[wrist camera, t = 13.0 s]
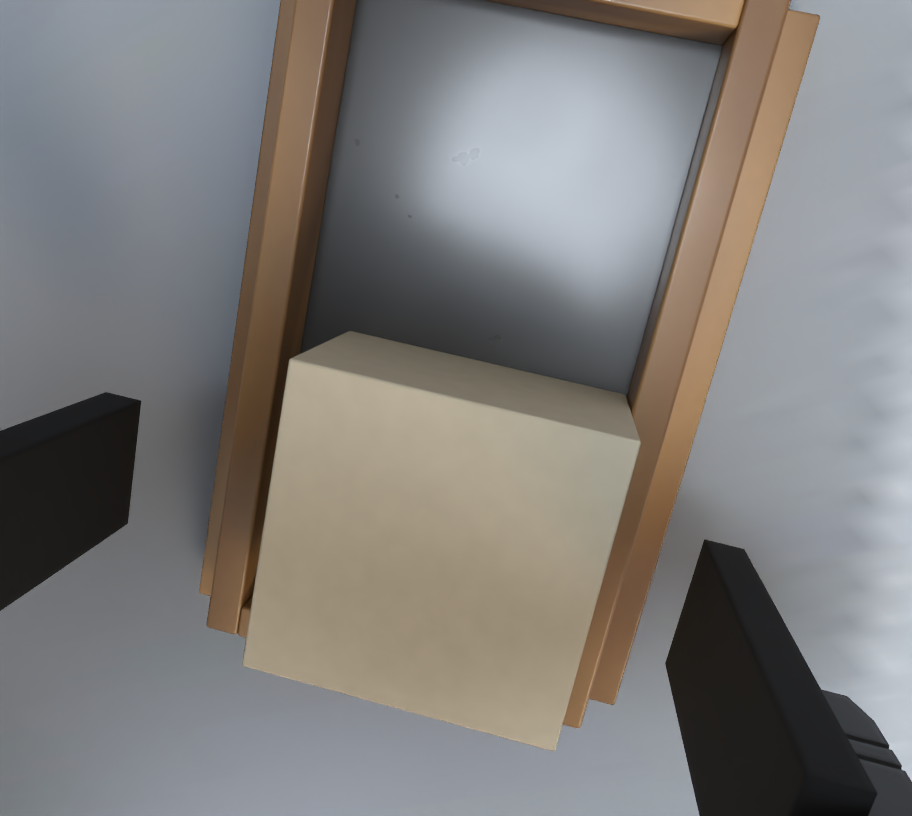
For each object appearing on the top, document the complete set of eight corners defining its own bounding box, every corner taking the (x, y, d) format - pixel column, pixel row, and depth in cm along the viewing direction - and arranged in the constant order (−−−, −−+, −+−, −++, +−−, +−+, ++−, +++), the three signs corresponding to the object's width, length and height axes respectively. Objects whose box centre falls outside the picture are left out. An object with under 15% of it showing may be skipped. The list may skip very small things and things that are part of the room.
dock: (214, 577, 21) (169, 621, 19) (306, -67, 17) (263, -115, 15) (612, 683, 20) (618, 745, 18) (807, 27, 16) (847, -7, 14)
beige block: (305, 580, 20) (241, 666, 16) (348, 329, 18) (288, 358, 14) (558, 646, 19) (554, 752, 15) (626, 394, 18) (642, 441, 14)
